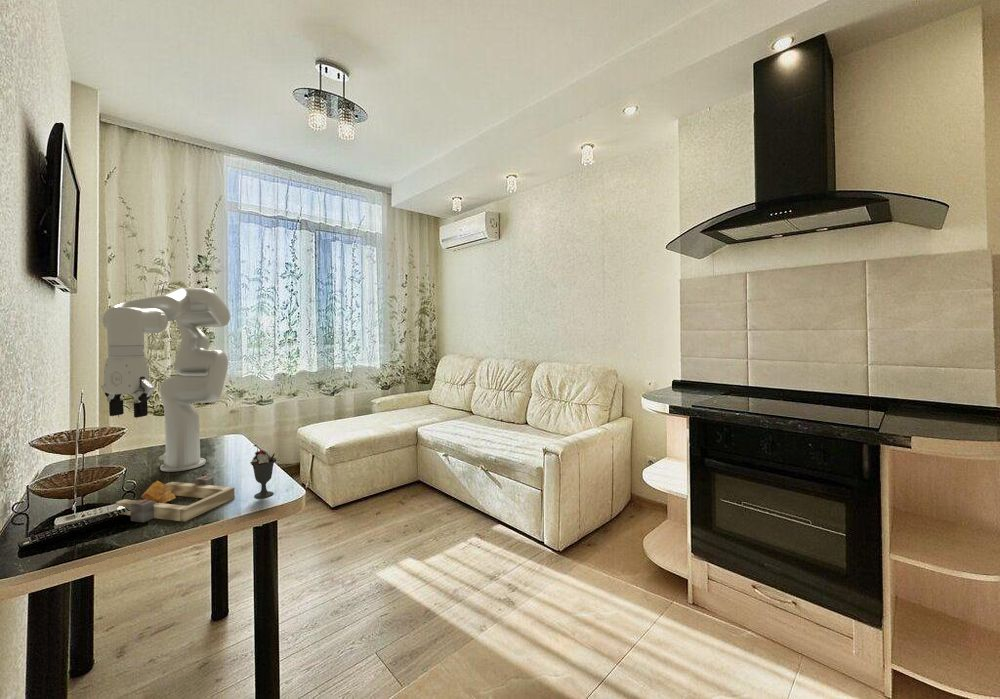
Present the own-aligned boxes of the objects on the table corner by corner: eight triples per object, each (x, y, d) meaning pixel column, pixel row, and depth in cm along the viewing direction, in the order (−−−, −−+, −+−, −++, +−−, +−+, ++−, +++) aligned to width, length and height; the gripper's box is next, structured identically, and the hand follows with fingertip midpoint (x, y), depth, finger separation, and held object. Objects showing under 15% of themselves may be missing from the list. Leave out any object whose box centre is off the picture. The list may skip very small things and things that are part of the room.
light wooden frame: (105, 517, 105) (104, 500, 105) (180, 488, 125) (179, 473, 125) (175, 526, 101) (175, 507, 101) (241, 494, 121) (241, 479, 121)
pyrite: (174, 497, 119) (162, 510, 115) (152, 484, 116) (139, 496, 113) (181, 492, 116) (169, 505, 113) (159, 478, 114) (146, 491, 111)
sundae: (245, 496, 120) (244, 444, 119) (269, 489, 125) (268, 439, 125) (257, 501, 116) (256, 448, 115) (281, 494, 122) (280, 443, 121)
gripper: (85, 352, 112) (88, 417, 113) (138, 353, 109) (140, 420, 110) (116, 351, 120) (118, 411, 121) (166, 352, 116) (167, 414, 117)
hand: (128, 415), depth 115 cm, fingers open, 7 cm apart
